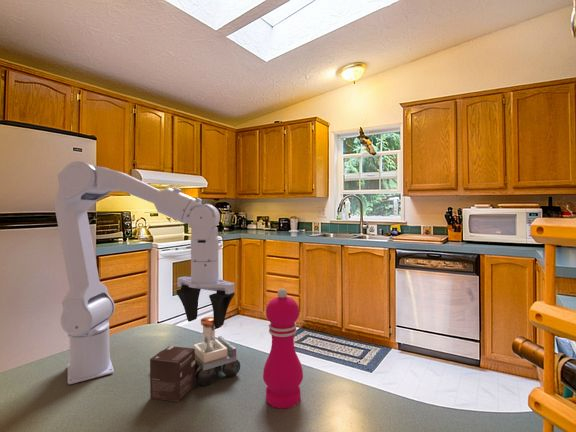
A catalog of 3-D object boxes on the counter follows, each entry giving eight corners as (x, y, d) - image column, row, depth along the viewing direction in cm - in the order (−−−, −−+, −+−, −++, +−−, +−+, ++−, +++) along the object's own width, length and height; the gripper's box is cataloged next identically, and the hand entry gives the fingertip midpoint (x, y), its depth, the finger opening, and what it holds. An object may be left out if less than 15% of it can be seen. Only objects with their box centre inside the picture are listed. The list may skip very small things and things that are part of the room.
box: (178, 403, 56) (178, 362, 56) (149, 398, 58) (148, 358, 58) (196, 385, 62) (195, 348, 62) (169, 381, 64) (168, 345, 64)
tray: (193, 351, 67) (193, 344, 67) (216, 346, 70) (216, 338, 70) (203, 362, 63) (203, 354, 63) (227, 356, 65) (227, 348, 65)
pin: (199, 350, 67) (199, 318, 67) (214, 347, 69) (214, 315, 69) (203, 356, 64) (202, 322, 64) (219, 352, 66) (218, 320, 66)
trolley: (185, 371, 67) (185, 344, 67) (225, 360, 73) (224, 334, 73) (198, 388, 61) (198, 358, 61) (240, 374, 66) (240, 347, 66)
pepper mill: (297, 385, 62) (297, 283, 62) (307, 407, 55) (307, 292, 55) (260, 389, 60) (259, 285, 60) (266, 413, 53) (265, 294, 53)
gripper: (166, 260, 68) (166, 323, 68) (218, 265, 61) (219, 335, 61) (190, 255, 74) (191, 313, 75) (240, 260, 67) (241, 324, 68)
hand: (205, 323), depth 68 cm, fingers open, 7 cm apart
